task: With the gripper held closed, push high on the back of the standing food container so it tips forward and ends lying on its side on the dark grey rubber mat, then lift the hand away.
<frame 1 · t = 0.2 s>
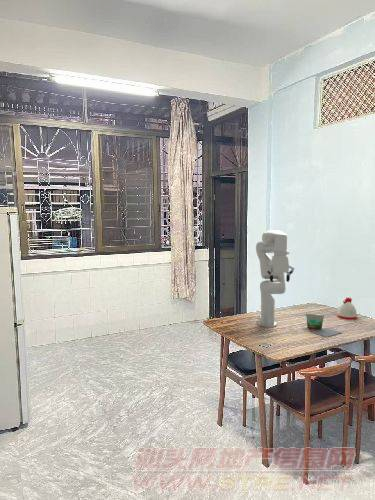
hand: (279, 281, 224), 37 cm above the table, tool pointing down, fingers open, 9 cm apart
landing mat: (326, 332, 241), on the table
white bobble hat: (346, 317, 278), on the table
food container: (314, 329, 249), on the table
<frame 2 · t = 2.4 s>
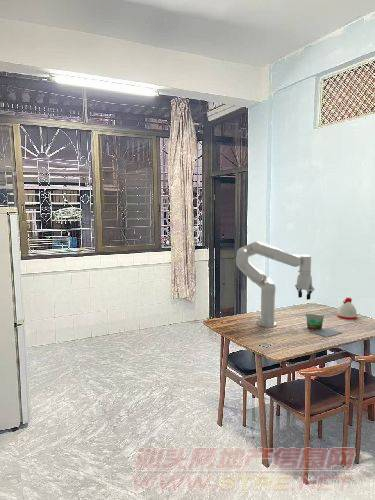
hand: (304, 298, 255), 20 cm above the table, tool pointing down, fingers open, 6 cm apart
nothing on the table moved.
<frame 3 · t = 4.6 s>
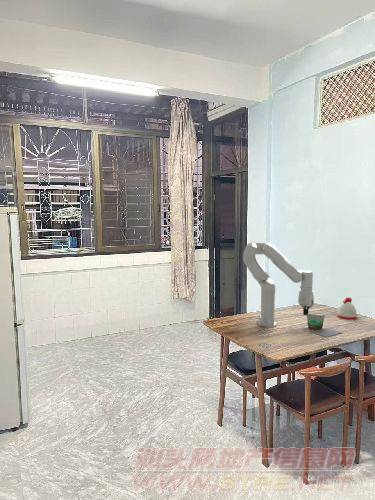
hand: (305, 314, 254), 8 cm above the table, tool pointing down, fingers closed
food container: (314, 329, 249), on the table, touching gripper
everything else where it was.
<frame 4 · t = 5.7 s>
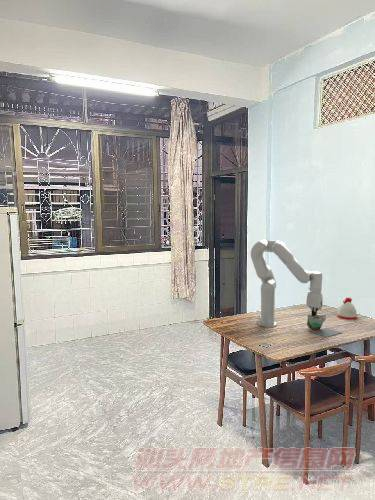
hand: (313, 316, 248), 9 cm above the table, tool pointing down, fingers closed
food container: (314, 328, 248), point 1 cm above the table
everything else where it was.
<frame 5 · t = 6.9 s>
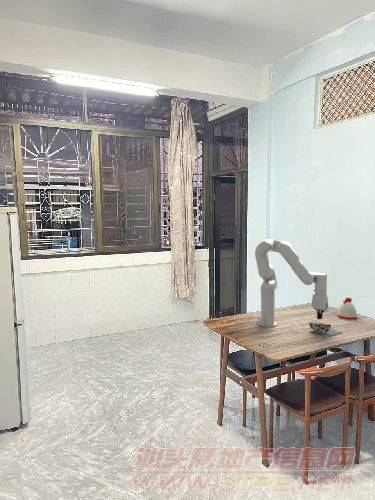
hand: (319, 318, 245), 8 cm above the table, tool pointing down, fingers closed
food container: (315, 327, 246), point 2 cm above the table, touching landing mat
everything else where it was.
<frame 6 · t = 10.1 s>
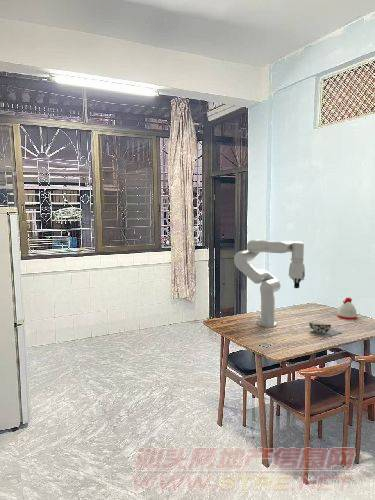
hand: (296, 287, 243), 29 cm above the table, tool pointing down, fingers closed
nothing on the table moved.
at the end: food container tilted 80°; food container touching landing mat; the gripper is holding nothing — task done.
